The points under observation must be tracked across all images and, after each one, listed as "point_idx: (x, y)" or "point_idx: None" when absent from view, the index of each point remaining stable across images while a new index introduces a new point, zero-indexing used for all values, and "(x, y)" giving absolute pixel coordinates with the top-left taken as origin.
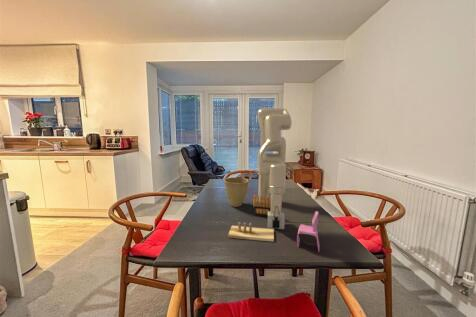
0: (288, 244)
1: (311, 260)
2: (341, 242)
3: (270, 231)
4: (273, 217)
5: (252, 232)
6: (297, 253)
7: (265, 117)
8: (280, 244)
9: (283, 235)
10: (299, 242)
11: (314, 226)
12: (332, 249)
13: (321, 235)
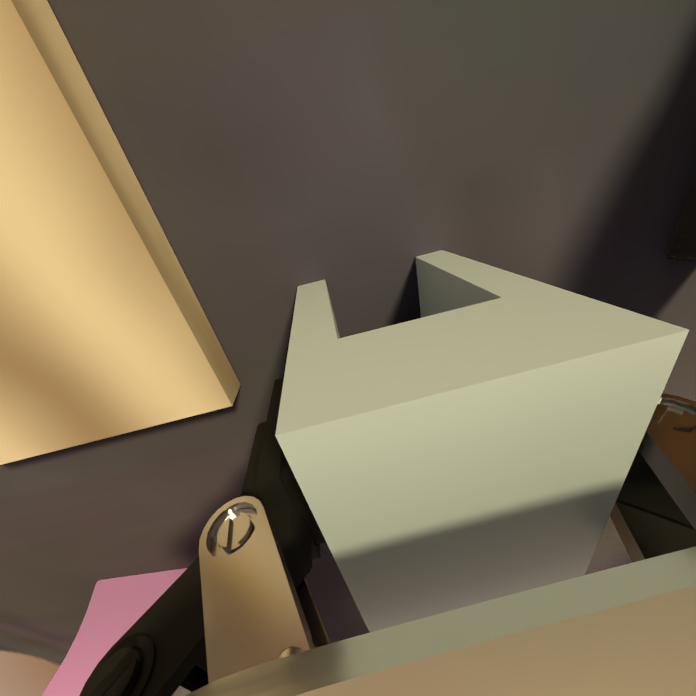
0: (85, 537)
1: (15, 643)
2: None
3: (129, 389)
4: (202, 593)
5: None
6: (13, 596)
7: None
8: (18, 499)
9: (216, 478)
10: (183, 572)
11: None
12: None
13: (355, 612)
